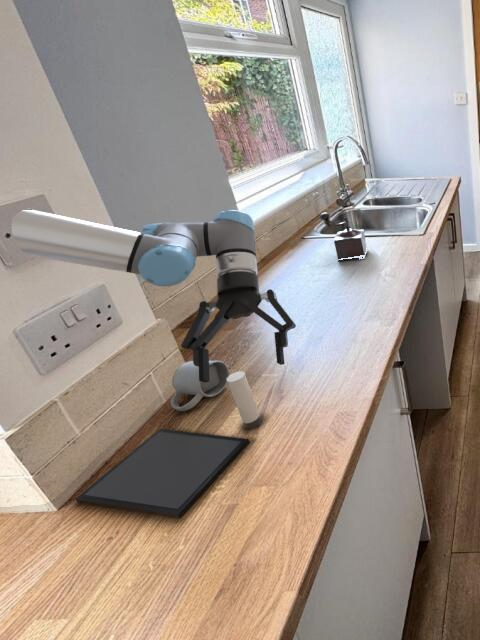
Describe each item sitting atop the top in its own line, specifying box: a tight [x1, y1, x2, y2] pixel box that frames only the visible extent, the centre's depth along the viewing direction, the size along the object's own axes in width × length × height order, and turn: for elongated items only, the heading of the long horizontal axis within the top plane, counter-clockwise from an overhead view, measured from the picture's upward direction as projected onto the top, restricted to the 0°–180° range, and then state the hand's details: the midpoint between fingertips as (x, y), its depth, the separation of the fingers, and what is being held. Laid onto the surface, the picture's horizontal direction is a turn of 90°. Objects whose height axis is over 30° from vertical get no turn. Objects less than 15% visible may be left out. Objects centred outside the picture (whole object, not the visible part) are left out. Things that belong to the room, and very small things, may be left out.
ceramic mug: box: [170, 360, 230, 412], centre depth 89 cm, size 11×8×8 cm
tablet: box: [75, 428, 250, 520], centre depth 73 cm, size 20×15×1 cm
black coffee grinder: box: [319, 211, 368, 263], centre depth 159 cm, size 16×11×18 cm
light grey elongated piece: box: [226, 371, 262, 430], centre depth 80 cm, size 3×3×12 cm
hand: (243, 372), depth 82 cm, fingers open, 13 cm apart
